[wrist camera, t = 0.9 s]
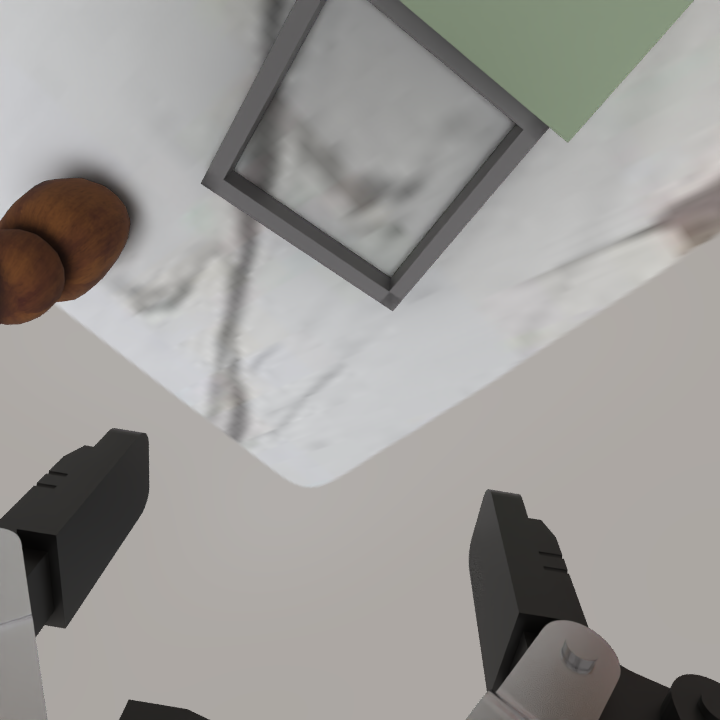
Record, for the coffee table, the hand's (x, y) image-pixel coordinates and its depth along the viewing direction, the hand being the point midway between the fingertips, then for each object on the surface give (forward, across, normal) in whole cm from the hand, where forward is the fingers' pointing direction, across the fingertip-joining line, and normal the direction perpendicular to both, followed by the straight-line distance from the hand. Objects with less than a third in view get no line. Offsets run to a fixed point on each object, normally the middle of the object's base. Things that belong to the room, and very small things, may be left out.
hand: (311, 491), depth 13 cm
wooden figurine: (+26, +18, 0) cm, 31 cm away
